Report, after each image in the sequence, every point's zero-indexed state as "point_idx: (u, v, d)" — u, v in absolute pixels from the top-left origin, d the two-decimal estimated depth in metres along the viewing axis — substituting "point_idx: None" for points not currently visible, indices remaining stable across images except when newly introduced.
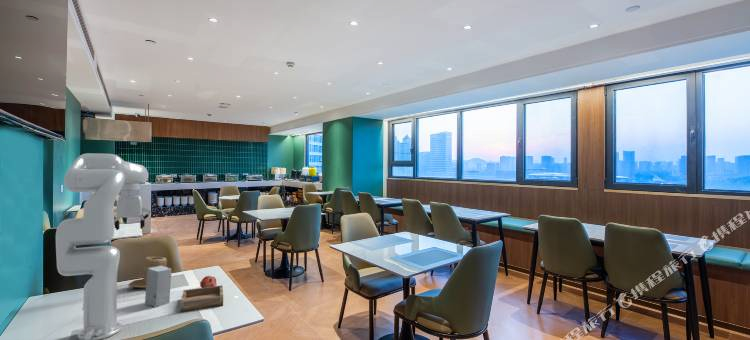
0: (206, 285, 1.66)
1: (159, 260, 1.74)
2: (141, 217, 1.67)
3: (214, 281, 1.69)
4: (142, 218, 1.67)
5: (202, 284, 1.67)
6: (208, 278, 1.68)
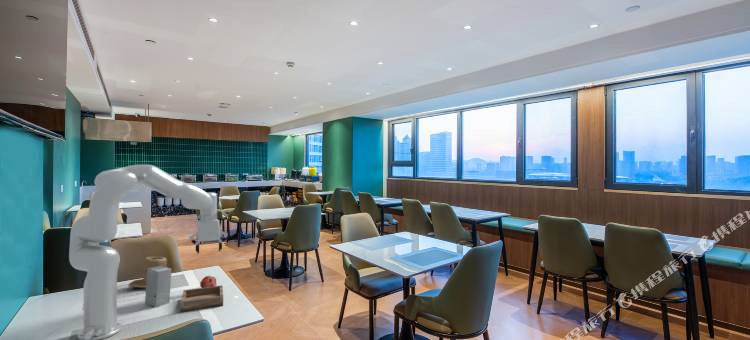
0: (206, 285, 1.66)
1: (159, 260, 1.74)
2: (219, 240, 1.71)
3: (214, 281, 1.69)
4: (220, 241, 1.71)
5: (202, 284, 1.67)
6: (208, 278, 1.68)
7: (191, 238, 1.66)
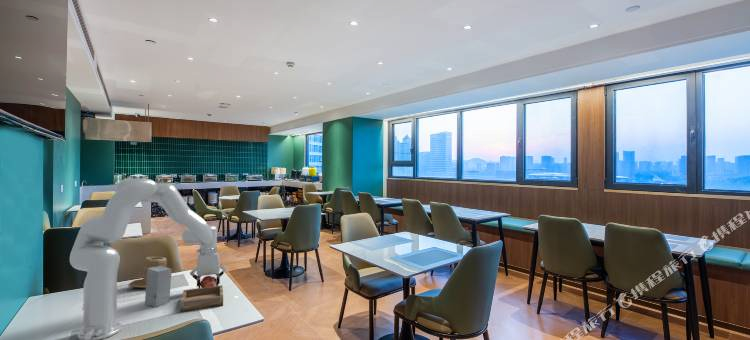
0: (206, 285, 1.66)
1: (159, 260, 1.74)
2: (217, 275, 1.70)
3: (214, 281, 1.69)
4: (218, 276, 1.71)
5: (202, 284, 1.67)
6: (208, 278, 1.68)
7: (192, 274, 1.66)
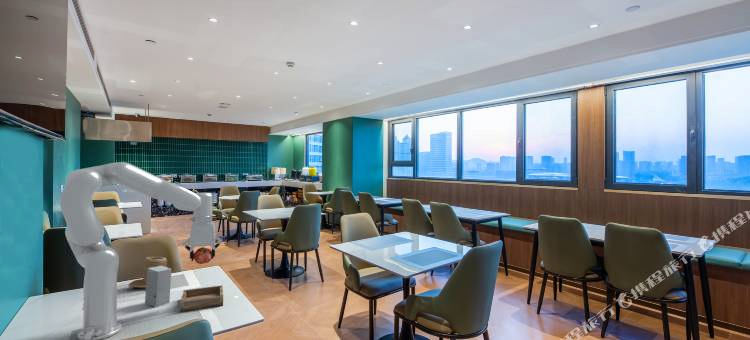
0: (200, 257, 1.51)
1: (159, 260, 1.74)
2: (212, 247, 1.55)
3: (209, 253, 1.54)
4: (213, 248, 1.55)
5: (196, 256, 1.51)
6: (202, 249, 1.53)
7: (184, 244, 1.51)
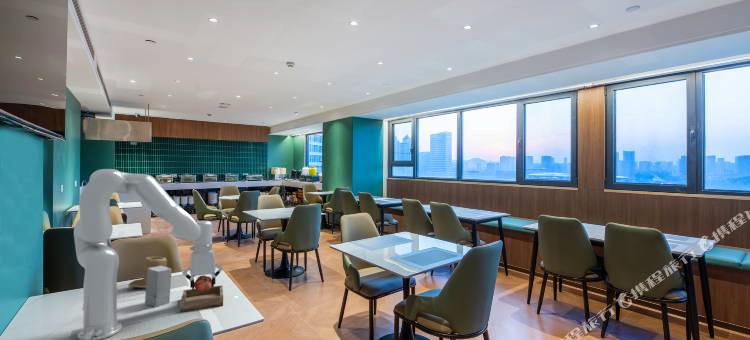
0: (201, 286, 1.51)
1: (159, 260, 1.74)
2: (213, 275, 1.55)
3: (209, 281, 1.54)
4: (214, 276, 1.55)
5: (196, 285, 1.51)
6: (203, 278, 1.53)
7: (185, 273, 1.51)
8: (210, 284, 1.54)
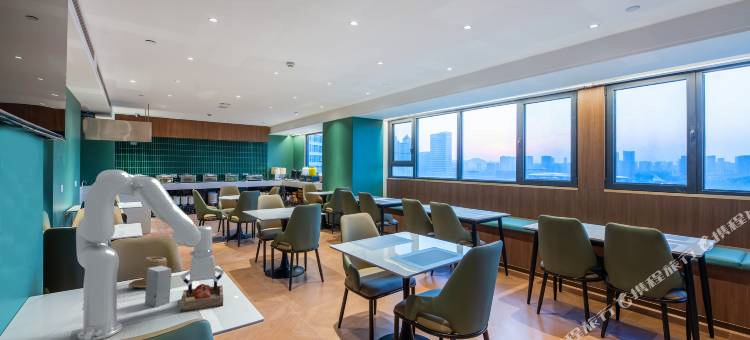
0: (200, 295, 1.51)
1: (159, 260, 1.74)
2: (214, 278, 1.55)
3: (208, 290, 1.54)
4: (215, 279, 1.56)
5: (195, 293, 1.51)
6: (202, 287, 1.53)
7: (183, 277, 1.51)
8: (209, 293, 1.54)
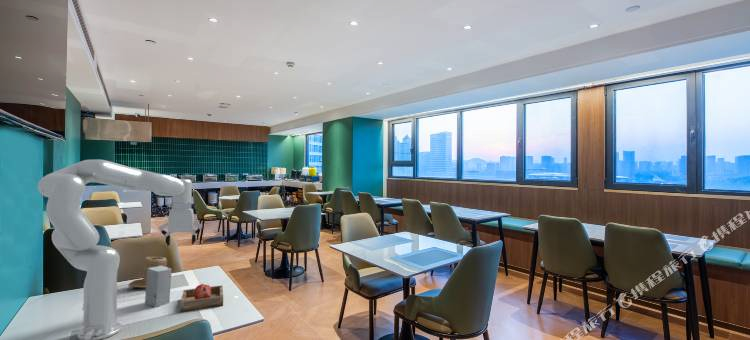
0: (200, 295, 1.51)
1: (159, 260, 1.74)
2: (193, 232, 1.55)
3: (208, 290, 1.54)
4: (194, 233, 1.55)
5: (195, 293, 1.51)
6: (202, 287, 1.53)
7: (161, 228, 1.51)
8: (209, 293, 1.54)
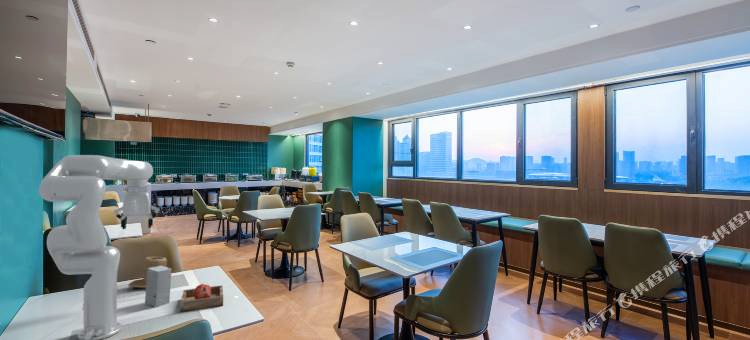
0: (200, 295, 1.51)
1: (159, 260, 1.74)
2: (149, 216, 1.56)
3: (208, 290, 1.54)
4: (150, 217, 1.56)
5: (195, 293, 1.51)
6: (202, 287, 1.53)
7: (116, 212, 1.51)
8: (209, 293, 1.54)
